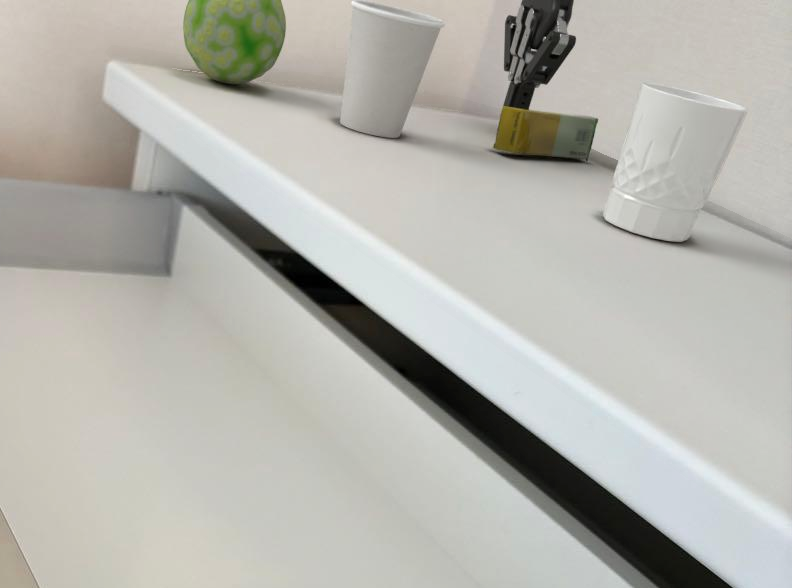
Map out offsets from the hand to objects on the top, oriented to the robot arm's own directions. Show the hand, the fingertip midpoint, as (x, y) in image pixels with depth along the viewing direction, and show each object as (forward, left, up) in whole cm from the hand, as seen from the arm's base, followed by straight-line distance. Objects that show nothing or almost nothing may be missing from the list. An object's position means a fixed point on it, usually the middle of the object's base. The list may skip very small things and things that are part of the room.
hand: (511, 122), depth 113 cm
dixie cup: (+18, +11, -2) cm, 21 cm away
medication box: (0, +9, -2) cm, 9 cm away
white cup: (+1, +33, -2) cm, 33 cm away
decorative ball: (+30, 0, -2) cm, 30 cm away
